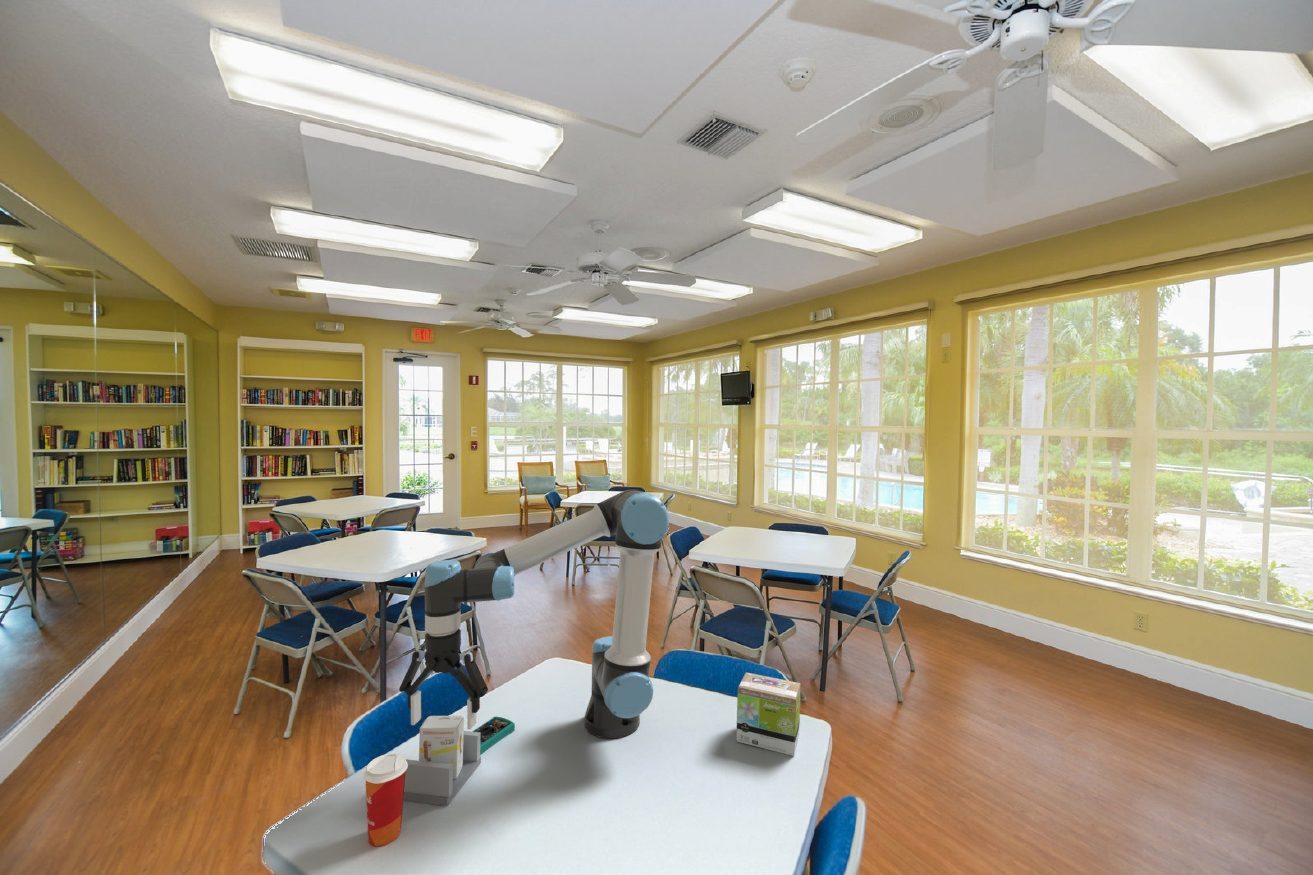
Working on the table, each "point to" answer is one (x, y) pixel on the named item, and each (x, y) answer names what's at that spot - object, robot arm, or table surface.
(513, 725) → the digital multimeter
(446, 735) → the ink box
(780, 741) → the tea box
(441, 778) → the dock
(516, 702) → the table surface
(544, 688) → the table surface
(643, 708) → the robot arm
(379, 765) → the paper cup
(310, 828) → the table surface
